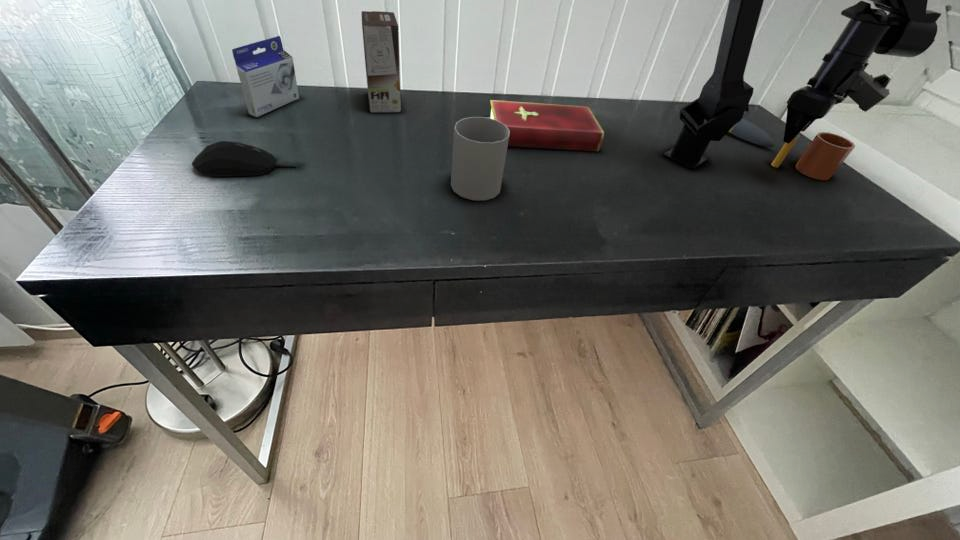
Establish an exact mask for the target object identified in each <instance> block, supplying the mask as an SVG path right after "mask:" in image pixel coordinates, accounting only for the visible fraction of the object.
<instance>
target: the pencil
mask: <svg viewBox="0 0 960 540" xmlns="http://www.w3.org/2000/svg"><path fill="white" fill-rule="evenodd" d="M800 137H801V134H800V133H799V134H798V135H797V136H796V137H795V138H794V139H793V140H792V141H791V142H790V143H786V142H784V143H783V145H782V147H781V148H780V150H779V151H778V152H777V154H776V156H775V158H773V160H772V162H771V163H770V166H772V167H773V168H779V167H780V166H781V164H782V163H783V161H784V160H785V158H786V157H787V156H788V154H789V153H790V152H791V150H792V148H793V147H794V145H795V144H796V143H797V141H798V140H799V139H800Z"/></svg>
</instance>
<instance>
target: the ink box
mask: <svg viewBox="0 0 960 540" xmlns="http://www.w3.org/2000/svg"><path fill="white" fill-rule="evenodd" d="M258 49H260V50H262V49H265V50H264V51H261V52H257V53H254V52H256V51H257V50H258ZM231 51H232V57H233V59H234V63H235V67H236V71H237V75H238V78H239V82H240V86H241V89H242V94H243V97H244V100H245V104H246V108H247V112H248V115H250V116H251V117H254V118H259V117H261V116H263V115H265V114H268V113H269V112H273V111H275V110H276V109H279V108H281V107H283V106H286V105H288V104H290V103H292V102H294V101H297V100H300V96H299V88H298V82H297V75H296V70H295V64H294V59H293V58H294V57H293V56H292V55H291V54H290V53H288V51H286V50H284V46H283V41H282V38H281V36H280V35H277V36H273V37H270V38H265V39H263V40H259V41H256V42H252V43H248V44H245V45H242V46H238V47H234V48H232V49H231Z"/></svg>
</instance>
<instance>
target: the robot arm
mask: <svg viewBox="0 0 960 540" xmlns="http://www.w3.org/2000/svg"><path fill="white" fill-rule="evenodd" d="M764 1H765V0H728V5H727V9H726V14H725V17H724V23H723V27H722V31H721V37H720V41H719V46H718V50H717V55H716V59H715V64H714V68H713V72H712V74H711V75H710V77H709V78H708V79H707V81H706V82H705V83H704V85H703V86H702V89H701V90H700V94H699V97H698V98H696V99H694V100H693V101H692V102H690V103H688V104H687V105H685V106H684V107H682V108H680V110H679V117H678V118H679V121H681V122H682V123H683V126H682V128H681V130H680V133H679V135H678V136H677V138H676V141H675V143H674V145H673V148H670V149H669V150H668V151H665V152H664V153H663V157H665V158H666V159H669V160H671V161H672V162H675V163H677V164H679V165H681V166H683V167H684V168H686V169H689V170H695V169H697V168H698V167H699V166H701V165H703V164H704V163H705V162H706V161H707V160H708V158H707V157H705V156H704V154H705V153H706V150H707V149H708V147H709V145H710V143H711V142H720V141H721V140H722V139H723V138H724V137H725V136H726V135H727V134H729V133H730V132H729V131H730V130H731V128H732V127H733V126H734V125H735V124H736V123H739V122H740V121H741V119H744V115H745V112H746V113H749V111H750V108H749V106H750V101H751V99H752V97H753V95H754V87H753V86H751V85H750V84H749V83H747V82H746V80H745V78H744V77H745V72H746V69H747V64H748V60H749V58H750V54H751V50H752V46H753V42H754V39H755V36H756V31H757V28H758V23H759V21H760V16H761V13H762V9H763V5H764ZM868 1H869V2H867V1H864V0H860V1H858V2H857V3H854V5H851V6H849V7H847V8H845V9H843V10H842V11H840V15H841V16H843V17H845V18H848V19H849V20H848V23H847V24H846V25H845V27H844V29H843V30H842V32H841V33H840V35H839V36H838V38H837V39H836V41H835V42H834V44H833V45H832V47H831V48H830V50H829V51H828V52H827V53H825V55H824V56H823V58H822V59H821V61H822V63H821V65H820V66H819V68H818V69H817V71H815V74H814V75H813V76H812V77H810V78H809V79H808V81H807V83H806V85H805V86H803V87H799V88H797V89H796V90H794V91H793V92H792V93H791V95H789V97H788V99H787V100H786V104H787V105H786V120H785V126H784V133H783V134H784V135H783V140H782V141H783V143H785V142H786V143H790V142H791V141H792V140H793V139H794V138H795V137H796V136H797V135H798V134H799V135H800V133H801V132H805V131H807V129H808V128H810V126H811V125H812V124H813V123H814V122H815V121H817V120H821V119H824V117H826V116H827V115H828V114H829V113H830V111H831V110H832V108H834V106H835V105H838V104H841V103H843V102H844V101H845V100H846V99H847V98H848V97H849V99H851V100H852V101H853V102H854V103H856V104H857V105H858V108H859V109H860V110H861V111H862V112H864V113H865V112H868V111H869V110H872V108H873V107H875V106H876V105H877V104H880V102H882V101H883V100H884V99H886V98H887V97H888V96H889V95H890V89H889V88H887V87H888V85H889V84H890V82H891V78H890V77H889V76H888V75H887V74H885V73H883V74H880V75H877V76H874V75H872V74H869V73H867V71H865V70H866V69H867V67H868V66H869V65H870V63H869V59H870V58H871V56H872V55H873V54H874V53H875V54H876V55H884V56H890V57H891V56H893V57H902V58H914V57H918V56H920V55H922V54H924V52H926V51H927V50H928V49H929V48H930V47H931V46H932V45H933V43H934V42H935V41H936V36H937V33H938V24H937V21H938V20H939V18H940V17H941V16H942V13H940V12H938V11H934V10H932V9H928V8H927V7H928V1H929V0H868ZM870 2H871V3H873V5H874V8H873V7H872V4H871V3H870ZM704 119H705V120H706V121H707V122H706V121H705V120H704Z"/></svg>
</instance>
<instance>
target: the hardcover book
mask: <svg viewBox="0 0 960 540" xmlns="http://www.w3.org/2000/svg"><path fill="white" fill-rule="evenodd" d="M489 103H490V107H491V108H490V116H487V118H490V119H494V120H497V121H499V122H501V123H503V124H505V125H506V126H507V128H508V129H509V130H510V134H509V141H508V147H513V148H530V149H531V148H534V149H549V150H550V149H551V150H552V149H553V150H567V151H585V152H599V151H600V149H601V147H602V144H603V141H604V137H605V131H604V129H603V128H602V127H601V125H600V123H599V122H598V120H597V118H596V117H595V114H594V113H593V112H592V109H591V108H590V106H585V105H584V106H583V105H570V104H569V105H568V104H556V103H555V104H554V103H539V102H528V101H527V102H526V101H511V100H498V99H497V100H496V99H490V100H489Z"/></svg>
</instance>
